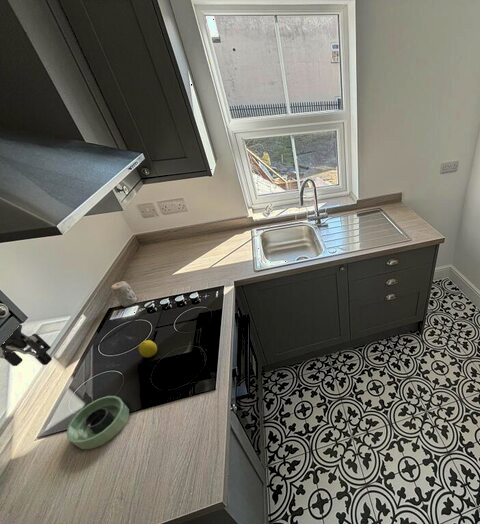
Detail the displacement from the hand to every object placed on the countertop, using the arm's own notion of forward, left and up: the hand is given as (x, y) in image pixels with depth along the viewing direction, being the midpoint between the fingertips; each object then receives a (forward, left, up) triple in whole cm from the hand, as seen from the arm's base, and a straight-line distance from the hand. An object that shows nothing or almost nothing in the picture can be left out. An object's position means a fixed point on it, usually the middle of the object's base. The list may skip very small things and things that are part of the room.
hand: (33, 362), depth 82 cm
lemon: (+20, +14, -26) cm, 36 cm away
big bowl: (+6, -9, -26) cm, 28 cm away
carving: (+11, +56, -26) cm, 63 cm away
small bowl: (+6, -9, -26) cm, 28 cm away
